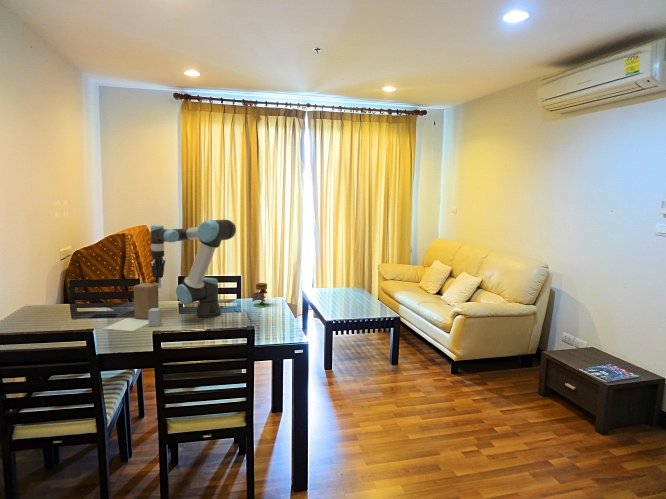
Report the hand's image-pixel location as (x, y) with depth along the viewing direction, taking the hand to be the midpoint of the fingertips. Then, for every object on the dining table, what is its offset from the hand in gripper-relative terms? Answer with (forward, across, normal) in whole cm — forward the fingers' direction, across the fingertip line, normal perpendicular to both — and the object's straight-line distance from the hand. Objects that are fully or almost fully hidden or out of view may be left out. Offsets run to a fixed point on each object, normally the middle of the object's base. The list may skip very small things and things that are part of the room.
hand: (158, 287), depth 261 cm
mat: (+15, +29, 0) cm, 33 cm away
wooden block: (+16, +13, 0) cm, 20 cm away
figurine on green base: (+16, -32, +56) cm, 66 cm away
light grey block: (+16, +25, +13) cm, 32 cm away
